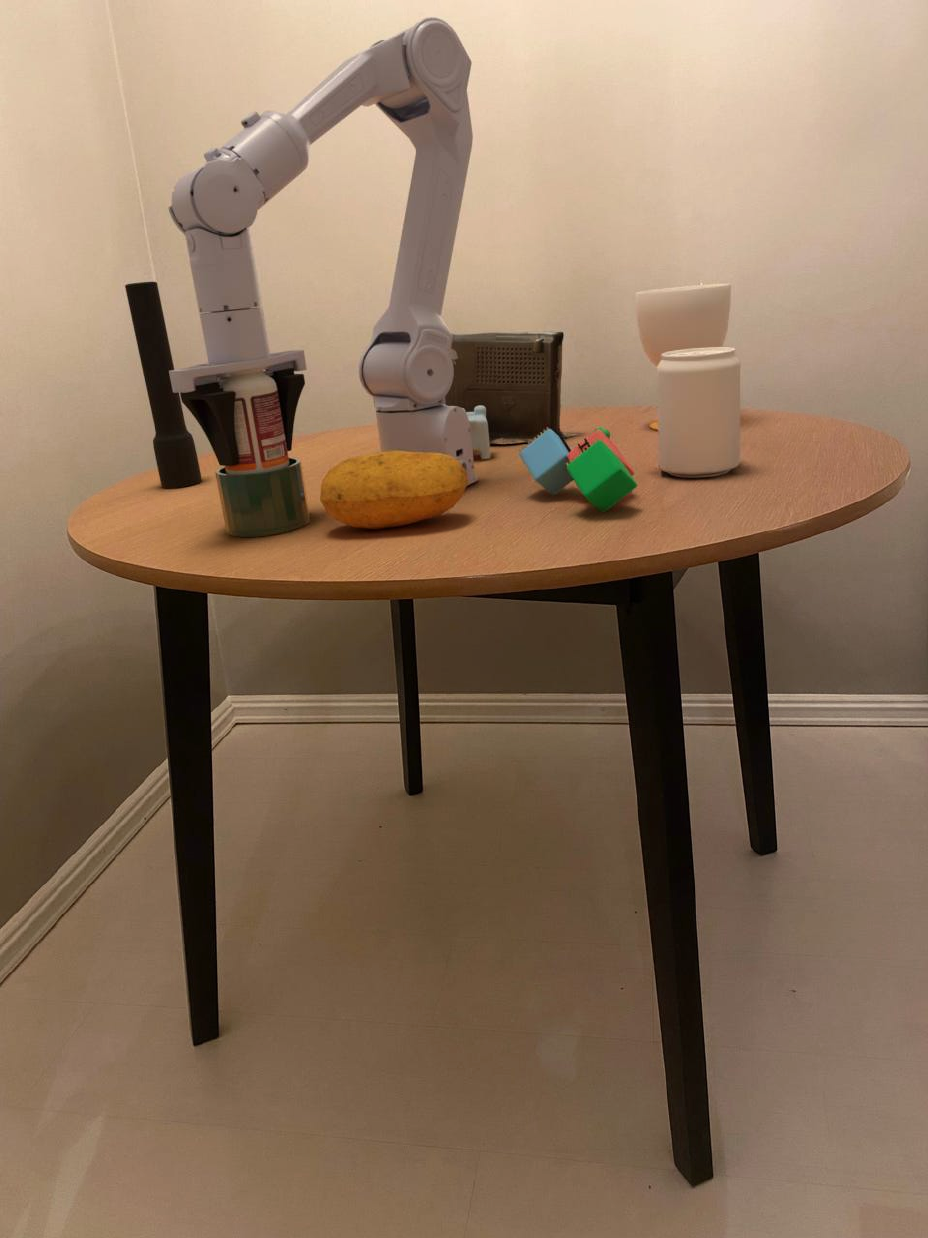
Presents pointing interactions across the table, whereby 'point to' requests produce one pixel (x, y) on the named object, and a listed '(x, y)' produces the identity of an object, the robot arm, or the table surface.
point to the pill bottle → (257, 423)
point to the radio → (509, 382)
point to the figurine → (479, 431)
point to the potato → (392, 488)
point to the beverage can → (699, 411)
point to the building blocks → (580, 466)
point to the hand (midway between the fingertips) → (256, 457)
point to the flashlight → (162, 389)
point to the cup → (682, 319)
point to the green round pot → (263, 501)
